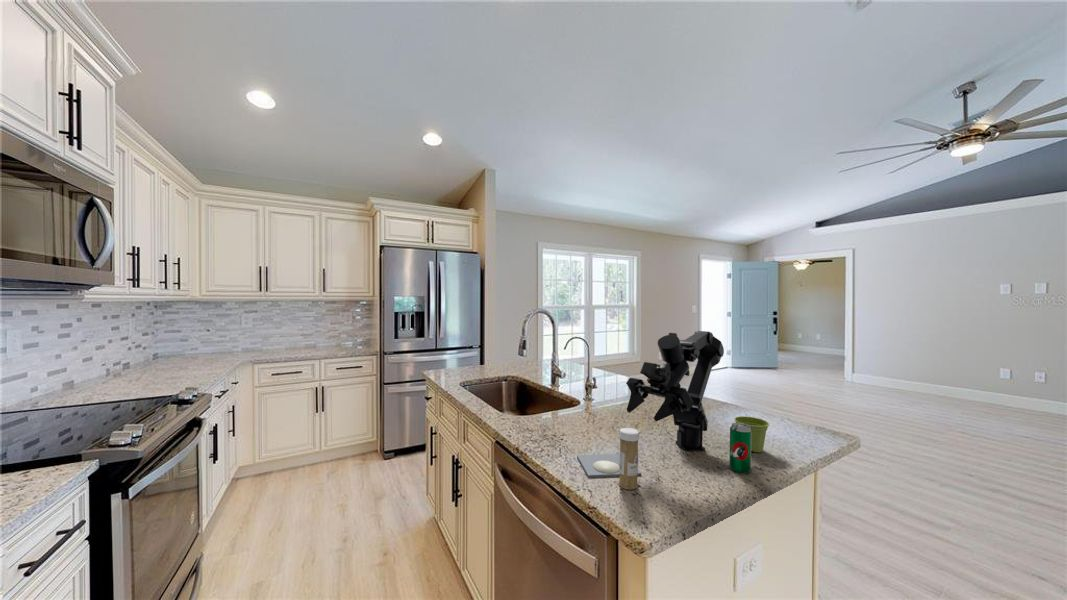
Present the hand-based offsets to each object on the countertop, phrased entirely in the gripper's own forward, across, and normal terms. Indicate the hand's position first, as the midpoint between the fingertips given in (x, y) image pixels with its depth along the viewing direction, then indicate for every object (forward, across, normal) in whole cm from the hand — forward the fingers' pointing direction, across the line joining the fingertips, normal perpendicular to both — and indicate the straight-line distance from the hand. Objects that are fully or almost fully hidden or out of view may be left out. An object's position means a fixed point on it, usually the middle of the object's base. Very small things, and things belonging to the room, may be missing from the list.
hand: (640, 415), depth 97 cm
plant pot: (-24, +6, +38) cm, 45 cm away
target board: (+13, -7, +8) cm, 17 cm away
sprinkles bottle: (+16, +3, +7) cm, 17 cm away
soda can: (-10, +12, +27) cm, 31 cm away
